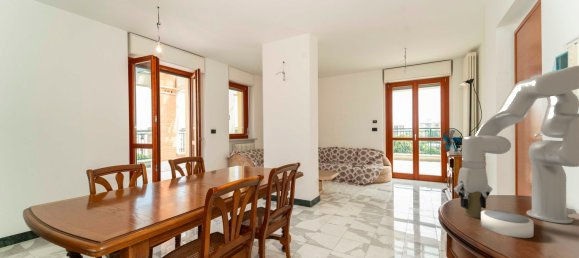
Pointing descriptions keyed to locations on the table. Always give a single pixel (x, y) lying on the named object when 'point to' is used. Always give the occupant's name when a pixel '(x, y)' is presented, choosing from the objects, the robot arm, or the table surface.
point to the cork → (474, 205)
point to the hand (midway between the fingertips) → (473, 207)
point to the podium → (507, 223)
